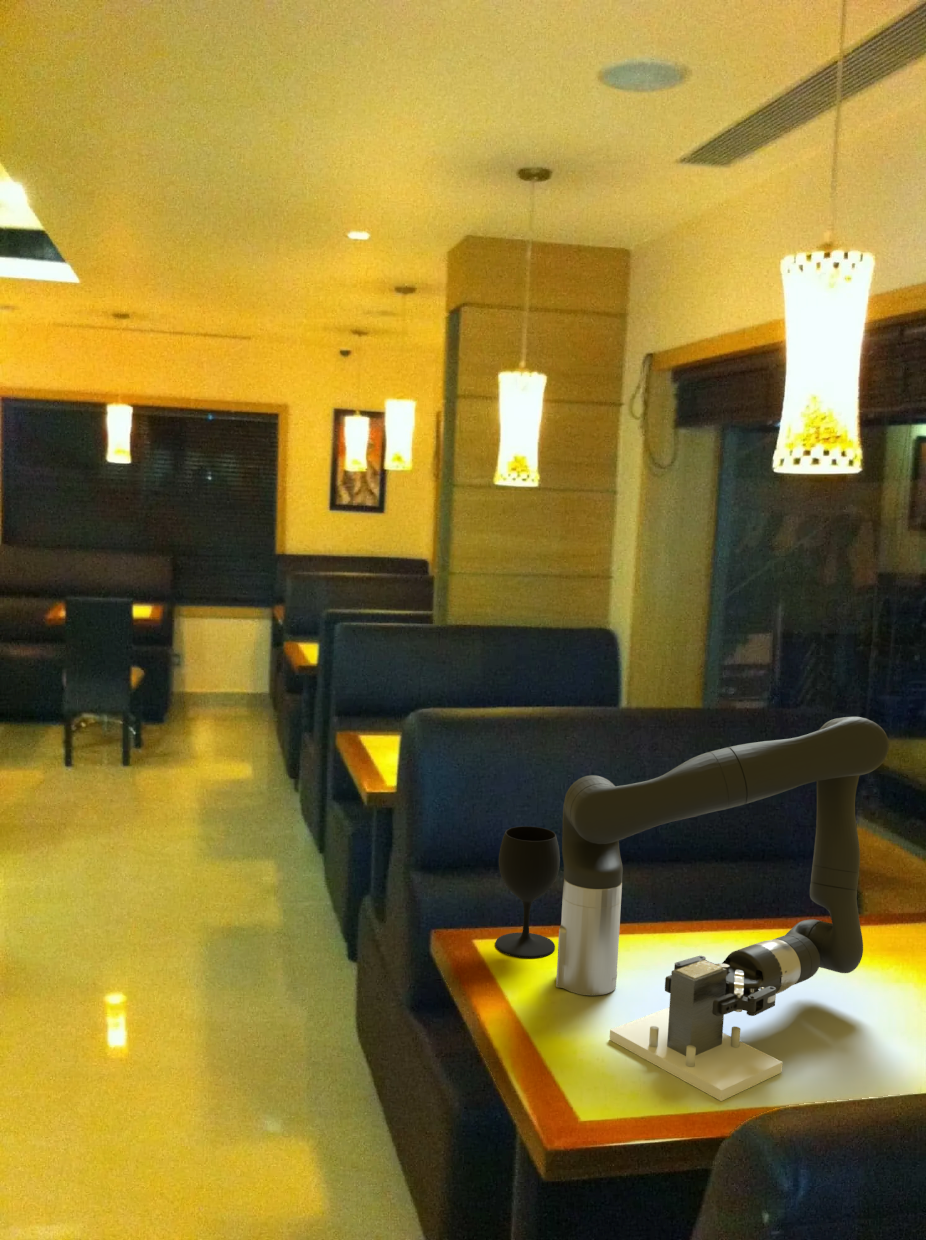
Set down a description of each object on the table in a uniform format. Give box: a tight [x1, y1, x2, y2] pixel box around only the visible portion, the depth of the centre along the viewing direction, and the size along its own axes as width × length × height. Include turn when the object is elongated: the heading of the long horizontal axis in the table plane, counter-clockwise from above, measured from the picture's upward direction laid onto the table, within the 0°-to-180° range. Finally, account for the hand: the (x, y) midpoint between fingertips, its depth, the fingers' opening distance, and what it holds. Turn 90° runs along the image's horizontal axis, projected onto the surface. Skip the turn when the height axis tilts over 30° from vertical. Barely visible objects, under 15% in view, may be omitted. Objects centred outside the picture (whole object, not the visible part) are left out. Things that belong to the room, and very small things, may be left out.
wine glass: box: [495, 825, 561, 959], centre depth 192 cm, size 10×10×20 cm
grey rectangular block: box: [667, 959, 727, 1056], centre depth 156 cm, size 4×7×11 cm, turn 129°
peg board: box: [609, 1007, 783, 1102], centre depth 157 cm, size 20×13×4 cm, turn 39°
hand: (690, 997), depth 155 cm, fingers open, 8 cm apart
